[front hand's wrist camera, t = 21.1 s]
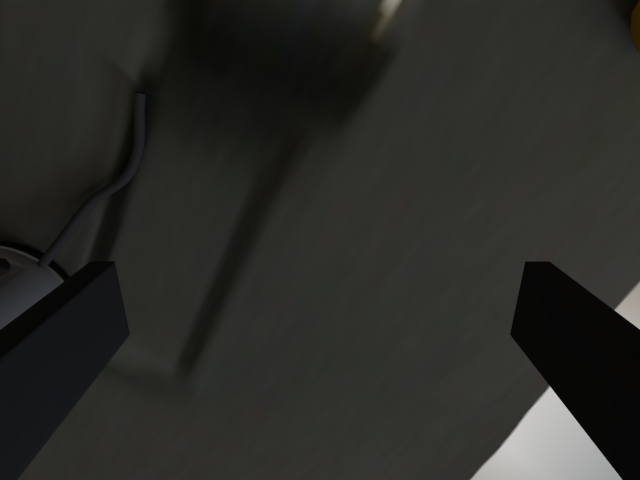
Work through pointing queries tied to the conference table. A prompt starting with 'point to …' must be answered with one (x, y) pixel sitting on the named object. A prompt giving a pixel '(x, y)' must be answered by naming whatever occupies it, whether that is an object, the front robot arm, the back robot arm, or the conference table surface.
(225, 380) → the conference table surface
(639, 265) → the conference table surface
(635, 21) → the yellow bell pepper
